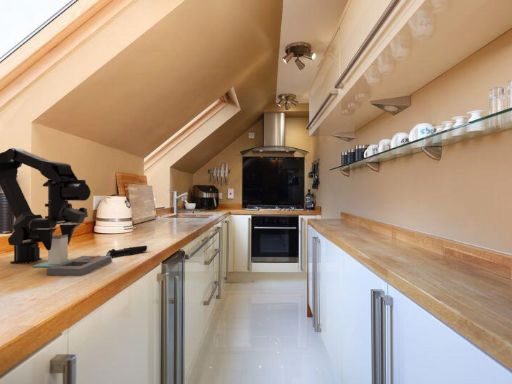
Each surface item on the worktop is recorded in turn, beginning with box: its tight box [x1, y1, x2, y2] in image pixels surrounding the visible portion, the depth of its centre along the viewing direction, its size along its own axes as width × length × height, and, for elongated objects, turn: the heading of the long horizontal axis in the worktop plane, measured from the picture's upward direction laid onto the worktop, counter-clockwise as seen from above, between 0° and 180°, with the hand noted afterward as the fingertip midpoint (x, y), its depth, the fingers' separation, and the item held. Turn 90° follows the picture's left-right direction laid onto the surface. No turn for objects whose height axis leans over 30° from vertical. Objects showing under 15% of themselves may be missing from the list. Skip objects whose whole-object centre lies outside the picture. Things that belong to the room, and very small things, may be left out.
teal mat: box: [31, 258, 73, 269], centre depth 104 cm, size 10×10×1 cm
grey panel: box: [46, 254, 113, 277], centre depth 99 cm, size 10×18×2 cm, turn 179°
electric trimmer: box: [105, 245, 148, 259], centre depth 121 cm, size 4×16×3 cm, turn 138°
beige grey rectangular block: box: [47, 234, 69, 264], centre depth 104 cm, size 4×4×9 cm
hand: (58, 247), depth 104 cm, fingers open, 9 cm apart
